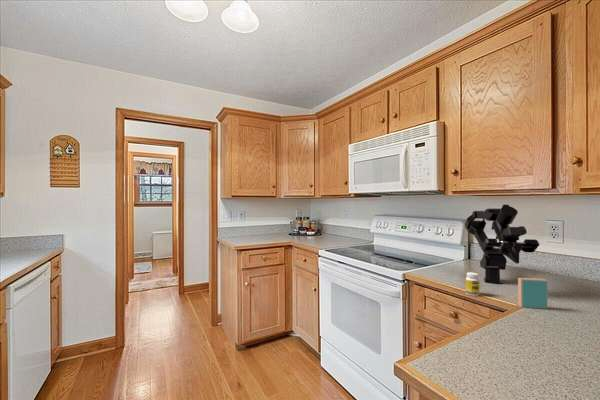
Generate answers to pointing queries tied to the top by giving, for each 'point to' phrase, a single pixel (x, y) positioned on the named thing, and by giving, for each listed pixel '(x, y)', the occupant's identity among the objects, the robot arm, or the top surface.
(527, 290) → the tile
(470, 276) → the supplement bottle
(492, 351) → the top surface
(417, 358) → the top surface
